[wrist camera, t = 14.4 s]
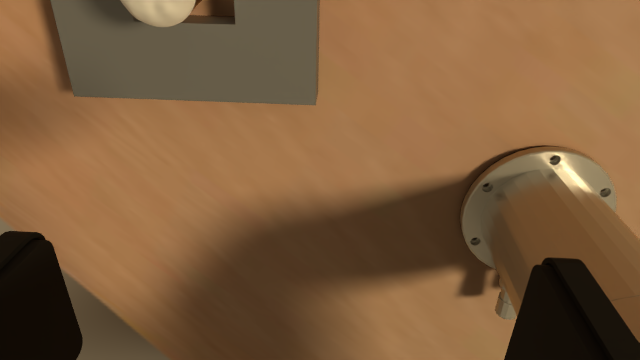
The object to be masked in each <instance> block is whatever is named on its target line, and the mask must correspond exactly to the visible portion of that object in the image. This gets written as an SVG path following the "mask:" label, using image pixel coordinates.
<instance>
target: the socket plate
mask: <svg viewBox="0 0 640 360" xmlns="http://www.w3.org/2000/svg"><path fill="white" fill-rule="evenodd" d="M50 1H51V5H52V9H53V13H54V17H55V21H56V25H57V29H58V33H59V37H60V41H61V45H62V49H63V53H64V57H65V61H66V65H67V69H68V74H69V78H70V82H71V86H72V90H73V94H74V96H80V97H107V98H134V99H161V100H188V101H215V102H242V103H269V104H297V105H316V100H317V95H318V62H319V5H320V0H234V9H235V17H230V16H196V15H189V16H188V17H187V18H186V19H185V20H184V21H182V22H181V23H179V24H176V25H174V26H169V27H156V26H152V25H148V24H146V23H144V22H142V21H140V20H138V19H136V18H135V17H134V16H133V15H132V14H131V13H130V12H129V11H128V10H127V9H126V7H125V6H124V5H123V4H122V2H121V1H120V0H50Z"/></svg>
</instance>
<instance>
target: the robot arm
mask: <svg viewBox="0 0 640 360" xmlns="http://www.w3.org/2000/svg"><path fill="white" fill-rule="evenodd" d="M552 156H553V157H552ZM486 183H487V184H486ZM616 202H617V196H616V192H615V187H614V184H613V183H612V181H611V179H610V177H609V175H608V174H607V173H606V172H605V171H604V170H603V168H602V167H601V166H600V165H599V164H597V163H596V162H595V161H594V160H593V159H591V158H590V157H588V156H586V155H585V154H583V153H581V152H579V151H575V150H572V149H568V148H564V147H552V146H547V147H535V148H530V149H526V150H522V151H518V152H516V153H514V154H511V155H509V156H507V157H504V158H502V159H501V160H499V161H498V162H496V163H494V164H493V165H491V166H490V167H489V168H488V169H486V170H485V171H484V172H483V173H482V174H481V175H480V176H479V177H478V178H477V179H476V180H475V182H474V183H473V184H472V185H471V187H470V189H469V190H468V192H467V194H466V196H465V198H464V201H463V204H462V207H461V215H460V224H461V230H462V233H463V236H464V239H465V242H466V244H467V245H468V247H469V249H470V251H471V252H472V253H473V254H474V255H475V256H476V257H477V258H478V259H479V260H480V261H482V262H483V263H484V264H486V265H487V266H489V267H492V268H494V269H496V270H497V271H498V273H499V276H500V279H499V285H500V286H501V288H502V289H501V292H500V293H499V296H498V300H497V304H496V307H495V311H496V313H497V314H498V315H499V316H500V317H502V318H504V319H509V320H511V319H515V318H516V316H517V319H516V323H515V326H514V329H513V332H512V336H511V339H510V342H509V346H508V349H507V352H506V355H505V359H504V360H640V239H639V238H638V237H637V236H636V235H635V234H634V233H633V232H632V231H631V229H630V228H629V227H628V226H627V225H626V224H625V223H624V222H623V221H622V220H621V219H620V218H619V216H618V215H617V214H616V213H615V212H616ZM81 348H82V334H81V332H80V328H79V325H78V322H77V319H76V316H75V313H74V310H73V307H72V304H71V300H70V297H69V294H68V291H67V288H66V285H65V282H64V279H63V276H62V272H61V269H60V266H59V263H58V260H57V257H56V254H55V251H54V248H53V245H52V243H51V242H50V241H47V240H45V238H44V236H43V235H42V234H41V233H37V232H18V231H9V232H5V233H3V234H2V235H1V236H0V360H76V359H77V357H78V355H79V353H80V351H81Z"/></svg>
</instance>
